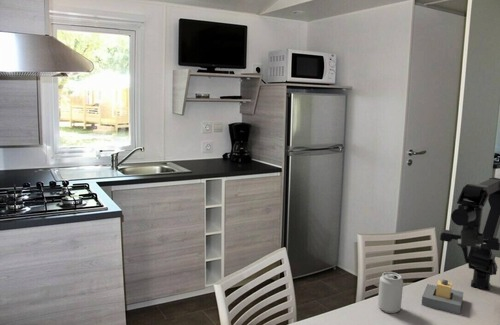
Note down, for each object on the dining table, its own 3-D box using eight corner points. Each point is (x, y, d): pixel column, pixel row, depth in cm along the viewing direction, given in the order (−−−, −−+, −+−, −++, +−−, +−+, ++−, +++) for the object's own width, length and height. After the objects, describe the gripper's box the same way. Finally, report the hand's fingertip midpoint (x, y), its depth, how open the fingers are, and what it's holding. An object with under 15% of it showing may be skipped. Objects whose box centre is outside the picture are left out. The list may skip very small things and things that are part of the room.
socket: (426, 291, 163) (427, 283, 162) (462, 299, 157) (463, 292, 157) (421, 304, 153) (422, 296, 152) (459, 314, 147) (460, 305, 146)
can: (402, 315, 145) (405, 280, 143) (378, 312, 146) (381, 278, 144) (399, 304, 152) (402, 271, 150) (376, 302, 154) (379, 269, 152)
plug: (436, 298, 158) (438, 277, 157) (449, 301, 156) (452, 280, 154) (434, 303, 154) (437, 281, 153) (448, 306, 152) (451, 284, 151)
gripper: (440, 221, 153) (435, 264, 155) (502, 231, 144) (496, 276, 146) (444, 214, 162) (439, 254, 165) (502, 222, 153) (496, 265, 156)
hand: (467, 262), depth 158 cm, fingers closed
